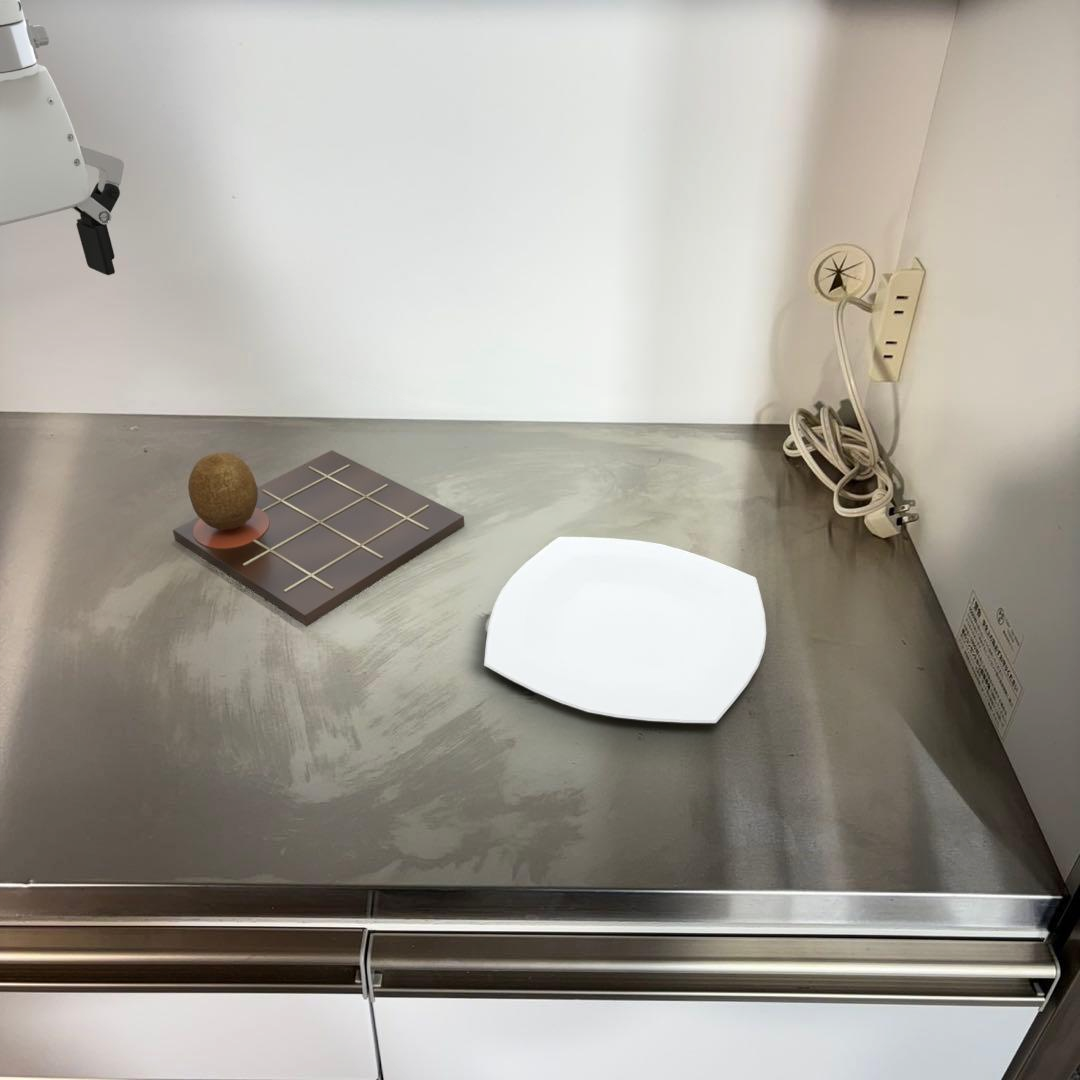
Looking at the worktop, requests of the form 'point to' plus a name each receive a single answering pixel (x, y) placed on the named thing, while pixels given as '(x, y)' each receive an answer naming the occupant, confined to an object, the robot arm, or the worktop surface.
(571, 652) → the plate
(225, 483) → the fruit
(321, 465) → the board
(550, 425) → the worktop surface
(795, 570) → the worktop surface
